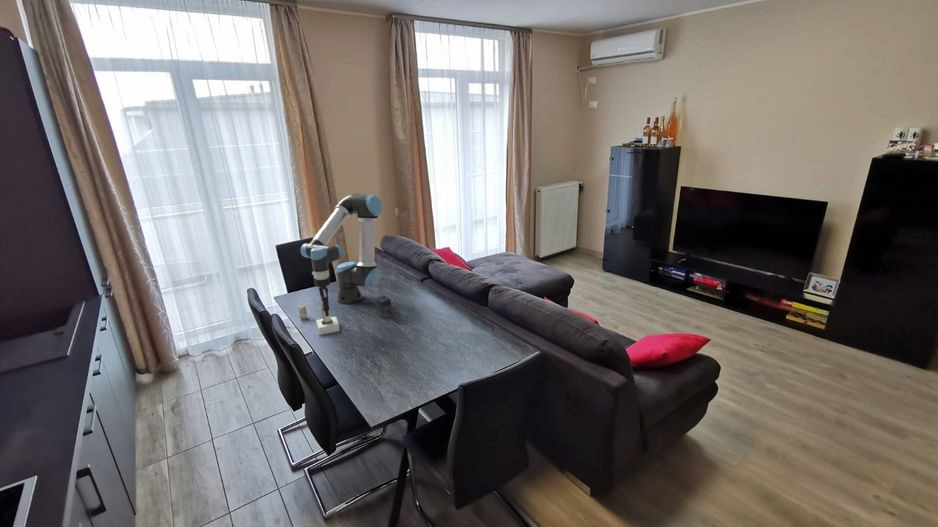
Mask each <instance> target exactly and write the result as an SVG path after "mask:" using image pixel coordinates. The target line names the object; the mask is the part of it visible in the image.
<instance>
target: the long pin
mask: <svg viewBox="0 0 938 527" xmlns="http://www.w3.org/2000/svg"><path fill="white" fill-rule="evenodd" d="M320 307H321V312H322V313H321V314H322V319H323V322H324V325H326V324H331V319H330V321H327V322H325V319H324V311H322V310H323V309H324V308H323V301H321V302H320ZM329 313H330V310H329ZM330 314H331V313H330Z"/></svg>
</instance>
